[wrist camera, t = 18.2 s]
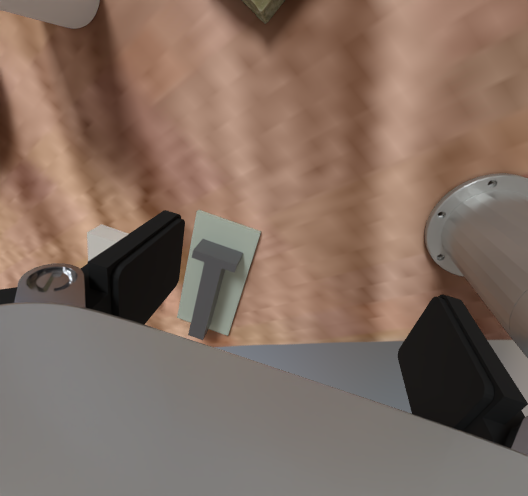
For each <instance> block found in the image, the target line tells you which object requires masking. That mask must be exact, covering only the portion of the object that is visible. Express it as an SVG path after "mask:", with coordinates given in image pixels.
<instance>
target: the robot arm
mask: <svg viewBox="0 0 528 496" xmlns="http://www.w3.org/2000/svg"><path fill="white" fill-rule="evenodd" d="M490 181H491V182H490ZM488 182H490V183H489V184H488ZM439 212H441V213H440V214H438V213H439ZM184 226H185V221H184V220H183V219H181V216H180V215H179V214H176V213H173V212H169V211H166V210H165V211H163V212H161V213H160V214H158V215H157V216H155V217H154V218H152V219H151V220H149V221H148V222H146V223H145V224H143V225H142V226H140V227H139V228H137V229H136V230H134V231H133V232H131V233H130V234H128V235H127V236H125V237H124V238H122V239H121V240H119V241H118V242H116V243H115V244H113V245H112V246H110V247H109V248H107V249H106V250H104V251H103V252H101V253H100V254H98V255H97V256H95V257H94V258H92V259H91V260H89V261H88V264H87V265H85V266H84V267H82V268H81V269H79V268H78V267H76V266H73V265H69V264H48V265H43V266H39V267H36V268H34V269H32V270H30V271H28V272H26V273H25V274H24V275H23V276H22V277H21V278H20V280H19V282H18V287H16V288H9V289H2V290H0V496H528V416H526V417H525V416H524V414H523V413H522V411H521V410H522V409H523V408H524V407H525V406H526V405H528V403H527V402H526V400H525V399H524V397H523V395H522V394H521V392H520V391H519V389H518V388H517V386H516V385H515V383H514V381H513V380H512V378H511V377H510V375H509V374H508V372H507V371H506V369H505V367H504V366H503V364H502V363H501V361H500V360H499V358H498V357H497V355H496V353H495V352H494V350H493V349H492V347H491V346H490V344H489V343H488V341H487V339H486V338H485V336H484V335H483V333H482V332H481V330H480V329H479V327H478V325H477V324H476V322H475V321H474V319H473V318H472V316H471V315H470V313H469V311H468V310H467V308H466V307H465V305H464V304H463V302H462V301H461V300H459V299H456V298H453V297H450V296H446V295H440V296H439V297H434V298H433V299H432V300H431V301H430V303H429V304H428V306H427V307H426V309H425V310H424V312H423V313H422V315H421V316H420V318H419V320H418V321H417V323H416V324H415V326H414V327H413V329H412V330H411V332H410V333H409V335H408V336H407V338H406V339H405V341H404V342H403V344H402V346H401V347H400V349H399V351H398V360H399V364H400V368H401V372H402V376H403V380H404V383H405V388H406V392H407V395H408V399H409V403H410V407H411V411H412V414H411V413H407V412H405V411H402V410H399V409H396V408H393V407H390V406H387V405H384V404H381V403H378V402H375V401H372V400H369V399H366V398H363V397H360V396H357V395H354V394H351V393H348V392H345V391H342V390H339V389H336V388H333V387H330V386H327V385H324V384H321V383H318V382H315V381H312V380H309V379H306V378H303V377H300V376H297V375H295V374H291V373H289V372H286V371H283V370H280V369H276V368H274V367H271V366H268V365H265V364H262V363H258V362H255V361H252V360H250V359H247V358H244V357H240V356H238V355H235V354H231V353H229V352H225V351H222V350H220V349H217V348H214V347H211V346H208V345H205V344H202V343H198V342H195V341H192V340H189V339H186V338H183V337H180V336H177V335H174V334H171V333H168V332H165V331H162V330H159V329H156V328H153V327H150V326H147V325H144V324H145V323H146V322H147V321H148V319H149V318H150V317H151V316H152V315H153V313H154V312H155V311H156V310H157V309H158V307H159V306H160V305H161V304H162V302H163V301H164V300H165V299H166V298H167V296H168V295H169V294H170V293H171V292H172V290H173V289H174V288H175V287H176V285H177V283H178V280H179V275H180V265H181V255H182V246H183V236H184ZM425 243H426V247H427V250H428V252H429V253H430V255H431V257H432V258H433V260H434V261H435V262H436V263H437V264H438V265H439V266H440V267H441V268H443V269H444V270H446V271H448V272H450V273H452V274H455V275H458V276H463V277H465V278H466V279H467V281H468V282H469V283H470V285H471V286H472V287H473V289H474V290H475V291H476V292H477V294H478V295H479V296H480V298H481V299H482V300H483V302H484V303H485V304H486V305H487V307H488V308H489V309H490V311H491V312H492V313H493V315H494V316H495V317H496V318H497V320H498V321H499V322H500V324H501V325H502V326H503V328H504V329H505V330H506V331H507V333H508V334H509V335H510V337H511V338H512V339H513V340H514V341H515V343H516V344H517V345H518V346H519V348H520V349H521V350H522V352H523V353H524V354H525V355H526V357H527V358H528V178H525V177H522V176H519V175H514V174H506V173H502V174H490V175H485V176H480V177H477V178H474V179H472V180H469V181H466V182H465V183H463V184H461V185H459V186H457V187H455V188H454V189H453V190H451V191H450V192H449V193H447V194H446V195H445V196H444V197H443V198H442V199H441V200H440V201H439V202H438V203H437V204H436V206H435V207H434V209H433V210H432V212H431V213H430V216H429V218H428V220H427V223H426V227H425Z"/></svg>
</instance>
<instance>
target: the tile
mask: <svg viewBox="0 0 528 496" xmlns="http://www.w3.org/2000/svg"><path fill="white" fill-rule="evenodd" d="M127 235H128V233H125V232H122V231H120V230H117V229H114V228H111V227H108V226H105V225H102V224H101V225H99V226H98V227H96V228H94V229H93V230H91V231H89V232H87V239H88V261H89V260H91V259H92V258H94V257H95V256H97V255H98V254H100V253H101V252H103V251H104V250H106V249H107V248H109V247H110V246H112V245H113V244H115V243H116V242H118V241H119V240H121V239H122V238H124V237H125V236H127Z"/></svg>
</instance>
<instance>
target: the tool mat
mask: <svg viewBox="0 0 528 496" xmlns="http://www.w3.org/2000/svg"><path fill="white" fill-rule="evenodd" d="M260 234H261V231H258V230H255V229H252V228H250V227H247V226H244V225H241V224H238V223H235V222H232V221H229V220H227V219H224V218H221V217H218V216H215V215H212V214H209V213H206V212H204V211H201V210H198V211H197V214H196V219H195V224H194V230H193V235H192V241H191V246H190V251H189V257H188V262H187V268H186V273H185V278H184V284H183V289H182V294H181V300H180V305H179V311H178V316H177V318H180V319H183V320H185V321H188V322H191V321H192V316H193V312H194V307H195V303H196V298H197V293H198V289H199V284H200V280H201V275H202V271H203V266H204V262H203V261H200V260H197V259H194V258H192V253H193V250H194V248H195V247H196V246H197V245H198V244H199V242H200V241H201V240H202V239H205V240H208V241H211V242H214V243H217V244H220V245H222V246H225V247H228V248H231V249H234V250H237V251H240V252H242V253H243V255H242V258H241V261H240V263H239V265H238V267H237V269H236V271H235V273H234V272H231V271H228V270H225V273H224V276H223V280H222V284H221V288H220V291H219V295H218V299H217V303H216V306H215V310H214V314H213V318H212V321H211V325H210V327H209V329H211V330H213V331H216V332H219V333H222V334H224V335H227V336H228V334H229V331H230V328H231V325H232V322H233V319H234V315H235V312H236V309H237V306H238V303H239V300H240V297H241V293H242V290H243V287H244V284H245V281H246V278H247V275H248V271H249V268H250V265H251V262H252V259H253V256H254V253H255V249H256V246H257V243H258V240H259V237H260Z"/></svg>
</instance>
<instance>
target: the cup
mask: <svg viewBox="0 0 528 496" xmlns="http://www.w3.org/2000/svg"><path fill="white" fill-rule="evenodd" d="M99 2H100V0H0V10H2V11H6V12H10V13H13V14H17V15H21V16H25V17H29V18H32V19H36V20H40V21H44V22H48V23H51V24H55V25H59V26H63V27H67V28H72V29H77V28H81V27H84V26H86V25H87V24H89V23H90V22H91V21H92V19H93V18H94V16H95V15H96V12H97V10H98V7H99Z"/></svg>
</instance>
